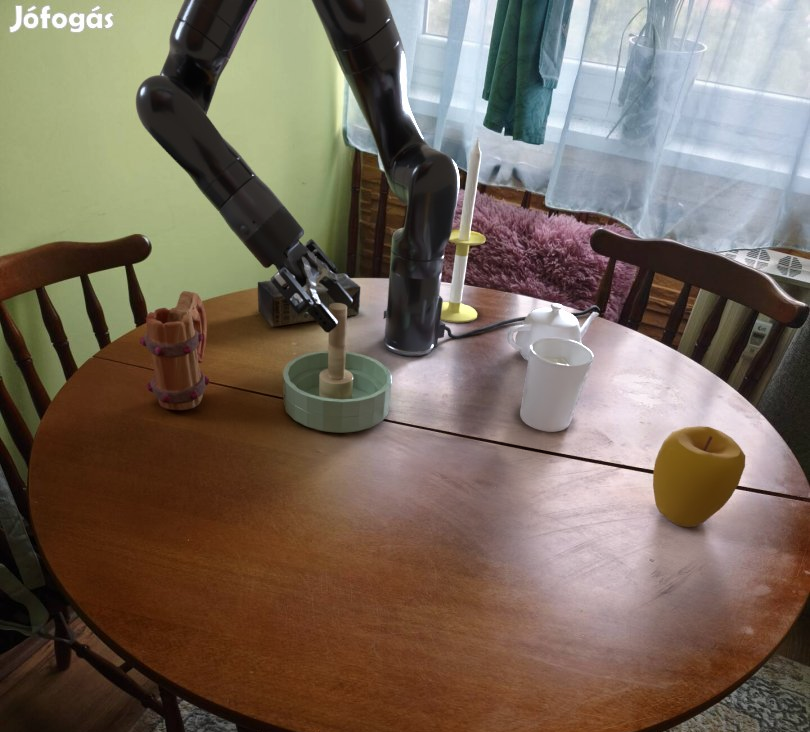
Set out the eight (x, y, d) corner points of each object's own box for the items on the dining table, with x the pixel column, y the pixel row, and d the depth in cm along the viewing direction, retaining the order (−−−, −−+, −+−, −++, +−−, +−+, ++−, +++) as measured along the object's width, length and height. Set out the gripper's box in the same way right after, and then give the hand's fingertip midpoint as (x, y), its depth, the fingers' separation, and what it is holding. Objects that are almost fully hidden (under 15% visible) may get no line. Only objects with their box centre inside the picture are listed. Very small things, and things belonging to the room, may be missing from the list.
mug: (192, 422, 104) (180, 326, 94) (141, 413, 104) (124, 317, 95) (230, 379, 115) (223, 289, 105) (184, 370, 115) (172, 280, 106)
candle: (482, 309, 147) (511, 136, 126) (469, 326, 140) (497, 145, 119) (438, 299, 149) (459, 127, 128) (423, 315, 142) (442, 135, 121)
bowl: (353, 375, 119) (355, 343, 116) (408, 420, 110) (412, 386, 106) (266, 396, 111) (264, 362, 107) (317, 447, 102) (317, 411, 98)
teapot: (570, 337, 140) (583, 287, 133) (608, 364, 132) (623, 313, 125) (485, 348, 133) (495, 296, 126) (520, 378, 124) (532, 324, 118)
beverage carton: (361, 315, 139) (363, 283, 135) (272, 329, 130) (270, 295, 126) (343, 300, 144) (344, 268, 140) (255, 313, 135) (254, 279, 131)
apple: (644, 482, 102) (673, 405, 94) (719, 504, 100) (756, 427, 91) (633, 523, 94) (664, 444, 86) (714, 548, 92) (755, 468, 83)
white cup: (538, 398, 119) (554, 331, 111) (586, 422, 114) (606, 354, 107) (503, 415, 114) (517, 347, 106) (551, 441, 109) (569, 372, 101)
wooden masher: (341, 393, 113) (344, 296, 102) (358, 408, 110) (363, 310, 99) (313, 400, 110) (313, 302, 100) (329, 415, 107) (331, 316, 97)
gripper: (261, 219, 87) (347, 321, 93) (296, 191, 98) (370, 284, 104) (224, 256, 91) (309, 351, 97) (261, 225, 101) (335, 313, 108)
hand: (341, 317), depth 101 cm, fingers open, 8 cm apart
